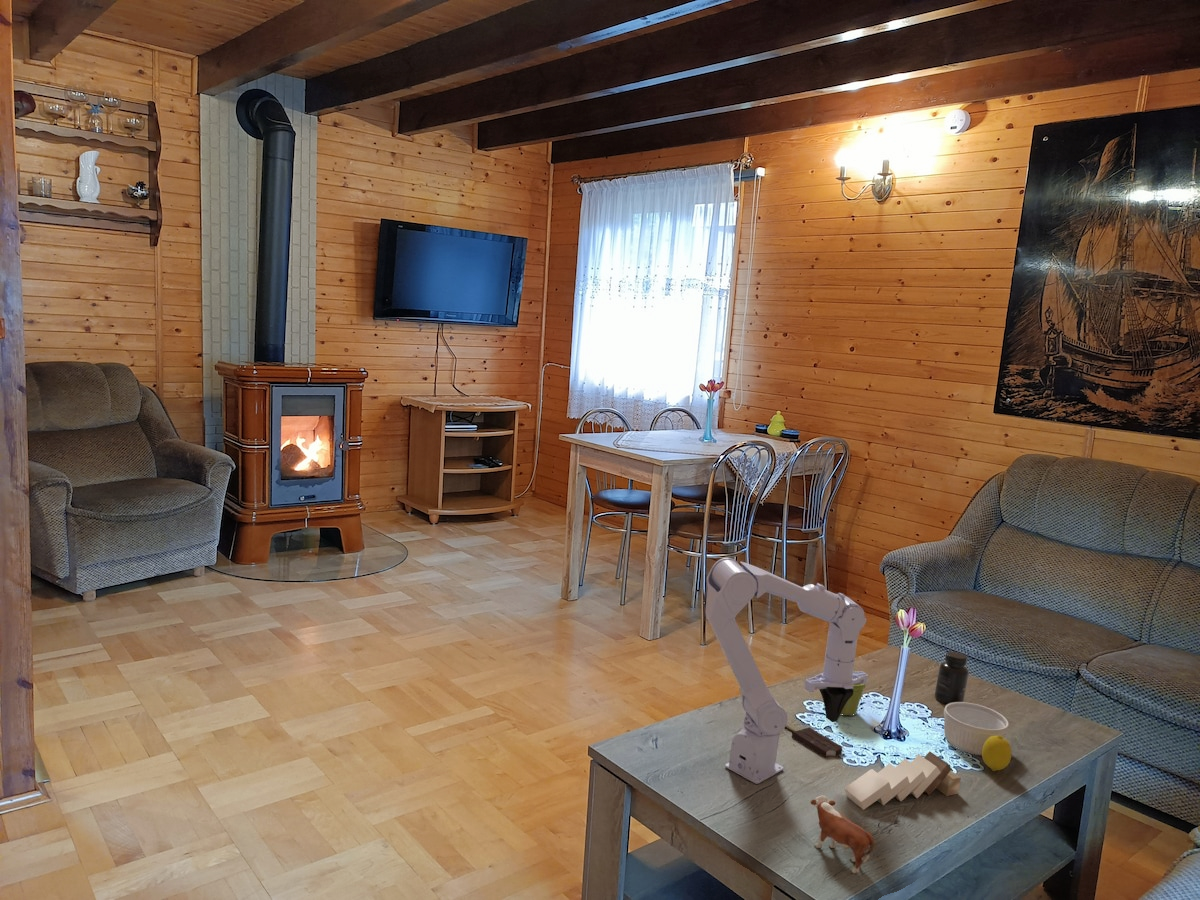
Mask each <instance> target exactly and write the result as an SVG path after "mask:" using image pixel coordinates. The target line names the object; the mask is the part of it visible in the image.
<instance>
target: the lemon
mask: <svg viewBox="0 0 1200 900" xmlns="http://www.w3.org/2000/svg"><path fill="white" fill-rule="evenodd" d="M981 757H982V760H983V762H984V764H985V765H986V766H987V767H988V768H990V769H991V771H993V772H996V771H1000V770H1003V769H1005V768H1007V767H1008V766H1009V764H1010V761H1011V758H1012V748H1011V745H1010V743H1009V741H1008V740H1007V739H1006V738H1005V737H1004V738H1003V737H1002V736H1001V735H998V736H991V737H989V738H988V739H987V740H986V741H985V743H984V745H983V749H982V756H981Z"/></svg>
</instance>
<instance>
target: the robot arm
mask: <svg viewBox="0 0 1200 900" xmlns="http://www.w3.org/2000/svg"><path fill="white" fill-rule="evenodd" d="M740 564H741V565H740ZM706 584H707V594H706V604H705V617H706V619H707V621H708V623H709V625H710V627H711V629H712V632H713V633H714V636H715V638H716V640H717V642H718V643H719V646H720V648H721V650H722V652H723V654H724V656H725V658H726V661H727V663H728V665H729V666H730V669H731V670H732V673H733V675H734V677H735V679H736V681H737V683H738V685H739V691H740V693H741V706H742V708H743V710H744V711H745V716H744V721H743V724H742V728H741V730H740V731H739V732H738V733H737V734H736V735H735V736H733V738H732V741H731V747H730V754H729V762H727V763H725V765H724V767H725V768H726V769H728V770H730V771H732V772H734V773H735V774H737V775H739V776H741V777H743V778H744V779H746V780H748V781H750V782H752V783H754V784H756V785H758V784H761V783H762V782H764V781H766V780H767V779H770V778H771V777H773V776H775V775H776V774H778V773H780V772H782V771H784V766H783V765H781V764H779V763H777V755H778V749H779V747H778V746H779V740H780V733H781V732H783V730H785V728H786V727H785V726H786V724H787V722H789V721H788V720H789V719H788V717H789V716H788V713H787V711H786V709H785V708H784V707H782V706H781V705H780V704H779V702H778V701H777V700H776V699H775V697H774V695H773V693H771V690H770V689H769V687H768V686H767V684H766V682H765V680H764V678H763V676H762V674H761V672H760V669H759V668H758V665H757V663H756V661H755V659H754V657H753V655H752V653H751V651H750V648H749V646H748V644H747V642H746V639H745V638H744V636H743V633H742V631H741V630H740V628H739V625H738V622H737V621H736V616H737V615H738V614H739V613H740V612H741V611H742V610H743V609H744V608H745V607H746V605H747V604H748V603H749V602H750V601H751V600H753V598H754V597H755V598H756V599H759V598H761V596H763V595H764V594H765V593H767V594H770V595H773V596H776V597H779V598H783V599H785V600H788V601H790V602H793V603H796V604H797V607H798V609H799V610H800V612H802V613H805V614H807V615H809V616H811V617H815V618H816V619H817V618H818V619H820V620H822V621H825V622H827V623H829V624H828V631H827V638H826V639H827V640H826V645H825V648H826V649H825V655H824V662H823V670H822V672H821V673H819V674H817V675H814V676H813V677H810V678H806V679H805V681H804V687H803V688H804V689H805V690H806V691H808V692H809V693H814V692H815V691H817V690H819V693H820V694H821V698H822V700H823V705H824V711H825V719H827V720H828V721H830V722H831V723H835V722H838V721H839V718H840V716H841V715H840V714H841V712H842V710H843V708H844V706H845V704H846V703H847V701H848V700H849V699H850V698H851V696H852V695H853V689H851V688H853V686H854V685H853V684H858V683H862V684H866V685H868V683H869V674H867V673H866V672H864V671H863V670H860V671H857V672H853V670H854V669H855V667H854V666H855V660H856V652H857V644H858V638H859V636H860V632H861V630H862V629H863V628H864V627H865V625H866V624H867V620H868V619H867V618H866V617H865V615H866V614H865V611H864V609H863V607H862V606H860V605H859V604H858V603H856V602H855V601H854V600H852V599H851V598H850V597H848V596H847V595H845V593H841V592H838V593H834V592H832V591H829V590H827V589H826V587H825V586H824V585H823V584H822V583H819V582H817V583H816V585H815V584H813V583H812V584H811V583H809V584H806V585H804V586H800V585H798V584H796V583H794V582H792V581H790V580H787V579H785V578H782V577H780V576H778V575H776V574H774V573H771V572H770V571H767V570H765V569H763V568H760V567H758V566H755V565H753V564H750V563H748V562H744V561H739V562H738V561H737V560H736V559H734V558H731V557H723V558H720V559H718V560H717V561H716V562H714V564H713V565H712V567H711V568H710V570H709V572H708V574H707V577H706ZM867 682H868V683H867Z"/></svg>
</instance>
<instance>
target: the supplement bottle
mask: <svg viewBox="0 0 1200 900" xmlns="http://www.w3.org/2000/svg"><path fill="white" fill-rule="evenodd" d="M967 659H968V657H967V656H966V654H964V653H961V652H958V651H952V650H951V651H947V652H946V653H945V658H944V661H943V662H941V663H940V664H939V668H938V672H937V673H938V674H937V679H936V683H935V684H936V685H935V689H934V690H935V691H934V697H935V699H936V701H938V702H939V703H942V704H944V705H948V704H950V703H954V702H965V698H966V697H965V696H966V691H967V685H968V681H969V680H968V679H969V676H970V675H969V674H970V672H969V669H968V667H967V666H966V665H967V661H968V660H967Z"/></svg>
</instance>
